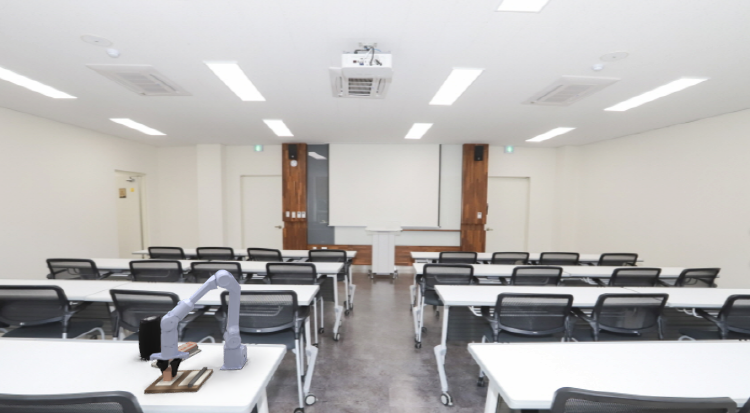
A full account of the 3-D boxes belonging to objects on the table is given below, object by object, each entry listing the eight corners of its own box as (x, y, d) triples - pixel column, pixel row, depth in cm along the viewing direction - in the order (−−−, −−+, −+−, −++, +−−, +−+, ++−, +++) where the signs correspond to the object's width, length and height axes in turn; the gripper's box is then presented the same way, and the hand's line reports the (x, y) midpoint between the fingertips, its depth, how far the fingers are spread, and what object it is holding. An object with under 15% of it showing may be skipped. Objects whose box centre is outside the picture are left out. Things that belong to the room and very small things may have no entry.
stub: (184, 372, 125) (184, 362, 125) (170, 385, 116) (170, 374, 116) (169, 373, 125) (169, 362, 125) (155, 386, 116) (154, 375, 116)
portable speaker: (166, 353, 144) (166, 314, 144) (147, 363, 135) (146, 321, 135) (154, 350, 147) (153, 312, 146) (134, 360, 138) (133, 319, 137)
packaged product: (187, 339, 150) (201, 342, 146) (187, 348, 150) (201, 352, 146) (150, 356, 133) (165, 361, 129) (150, 367, 133) (165, 371, 129)
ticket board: (213, 372, 128) (213, 365, 128) (196, 391, 115) (196, 384, 115) (166, 374, 127) (166, 367, 127) (144, 393, 114) (144, 386, 114)
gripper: (193, 338, 125) (193, 369, 125) (157, 339, 124) (158, 371, 124) (183, 346, 118) (183, 379, 118) (146, 348, 117) (146, 381, 117)
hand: (170, 376), depth 120 cm, fingers closed on stub, 3 cm apart
